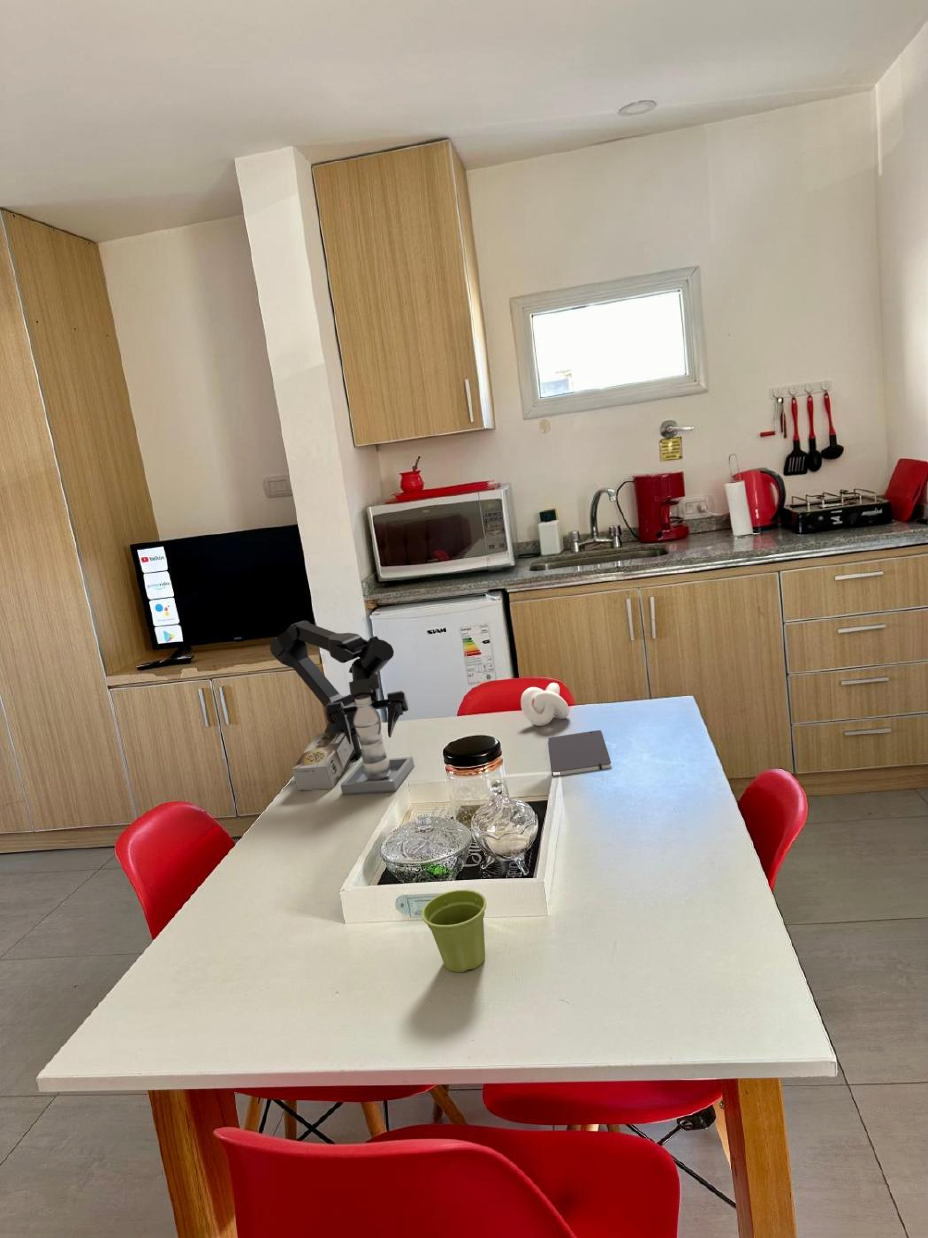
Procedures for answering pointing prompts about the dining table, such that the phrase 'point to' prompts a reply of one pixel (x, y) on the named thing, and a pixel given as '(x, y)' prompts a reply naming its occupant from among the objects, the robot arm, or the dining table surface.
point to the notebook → (578, 752)
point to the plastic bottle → (370, 739)
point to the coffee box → (323, 761)
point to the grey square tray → (362, 785)
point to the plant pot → (458, 928)
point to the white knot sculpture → (543, 705)
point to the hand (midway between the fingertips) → (369, 740)
